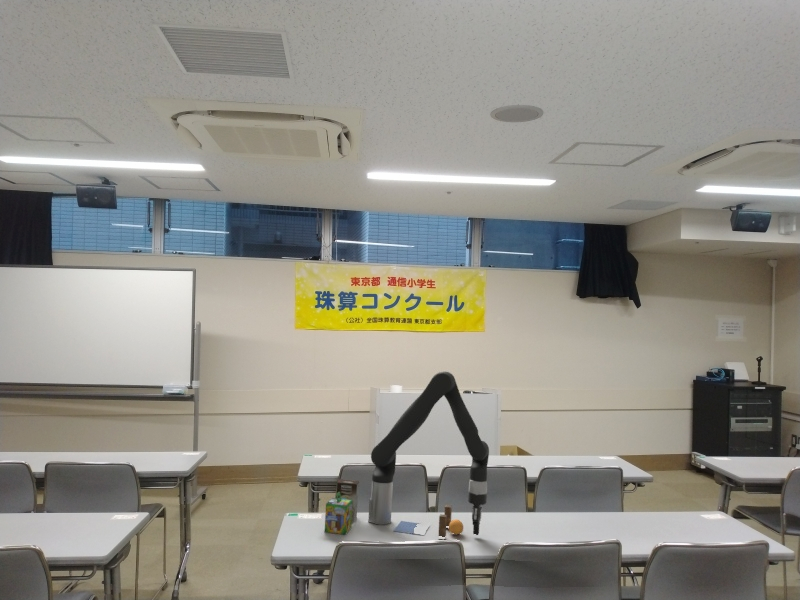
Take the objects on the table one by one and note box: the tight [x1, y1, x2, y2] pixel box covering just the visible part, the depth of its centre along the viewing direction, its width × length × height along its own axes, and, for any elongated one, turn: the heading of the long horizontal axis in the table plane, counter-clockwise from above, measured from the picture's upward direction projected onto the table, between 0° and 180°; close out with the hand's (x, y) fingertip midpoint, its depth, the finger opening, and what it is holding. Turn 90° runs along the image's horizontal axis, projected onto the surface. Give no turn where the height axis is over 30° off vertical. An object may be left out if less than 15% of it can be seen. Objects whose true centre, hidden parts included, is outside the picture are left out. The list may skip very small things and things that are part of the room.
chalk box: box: [324, 492, 353, 535], centre depth 210 cm, size 9×9×15 cm
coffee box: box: [335, 478, 360, 523], centre depth 224 cm, size 9×6×16 cm
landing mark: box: [393, 520, 420, 535], centre depth 216 cm, size 13×13×1 cm
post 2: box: [443, 504, 453, 526], centre depth 219 cm, size 3×3×9 cm
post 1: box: [438, 513, 447, 537], centre depth 206 cm, size 3×3×9 cm
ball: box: [448, 518, 464, 535], centre depth 211 cm, size 6×6×6 cm
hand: (476, 534), depth 209 cm, fingers closed
